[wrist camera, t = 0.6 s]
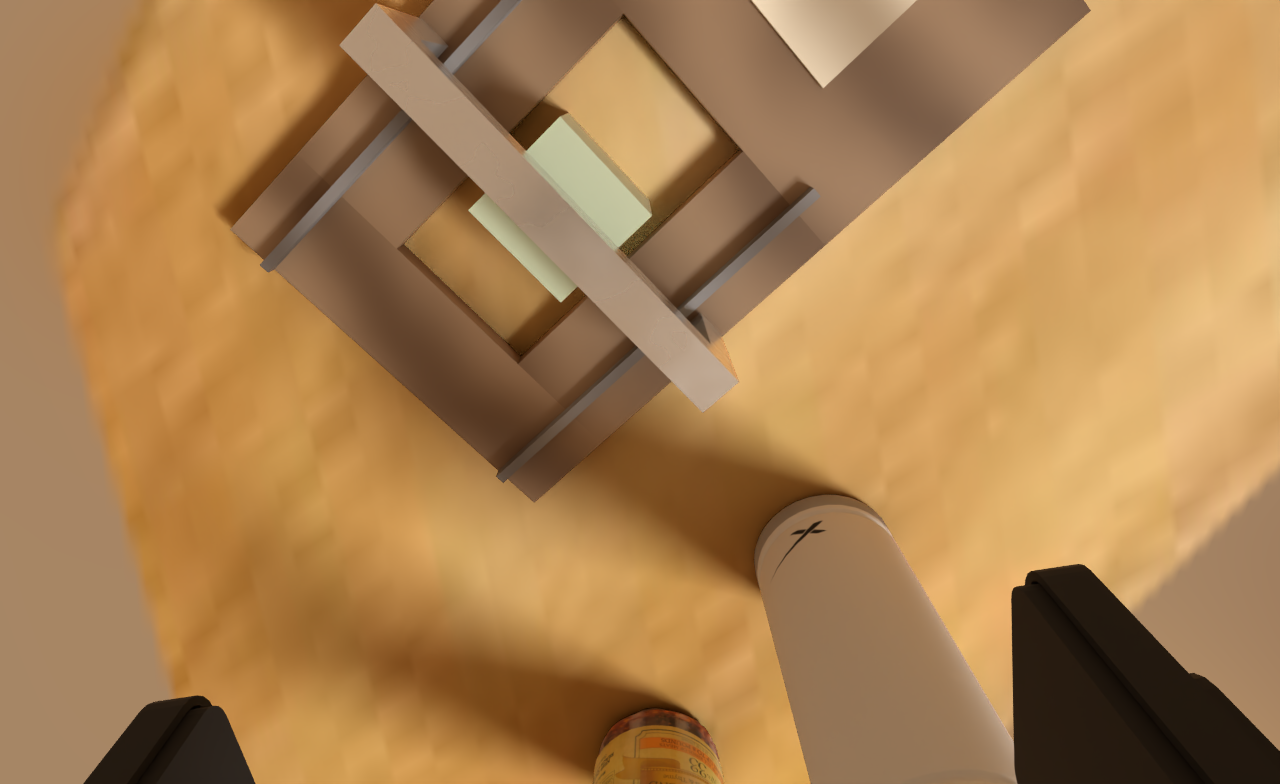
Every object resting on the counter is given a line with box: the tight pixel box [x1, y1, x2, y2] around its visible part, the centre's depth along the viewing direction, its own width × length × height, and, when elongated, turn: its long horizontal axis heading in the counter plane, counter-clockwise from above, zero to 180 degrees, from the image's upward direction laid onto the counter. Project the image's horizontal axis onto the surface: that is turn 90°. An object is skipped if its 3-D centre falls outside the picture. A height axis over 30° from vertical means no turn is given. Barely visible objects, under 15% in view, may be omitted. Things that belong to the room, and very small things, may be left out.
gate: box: [339, 3, 739, 412], centre depth 28 cm, size 2×16×6 cm, turn 43°
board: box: [230, 0, 1091, 502], centre depth 30 cm, size 28×16×2 cm, turn 133°
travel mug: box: [754, 495, 1017, 784], centre depth 28 cm, size 6×7×20 cm
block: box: [468, 113, 652, 302], centre depth 30 cm, size 4×4×4 cm
